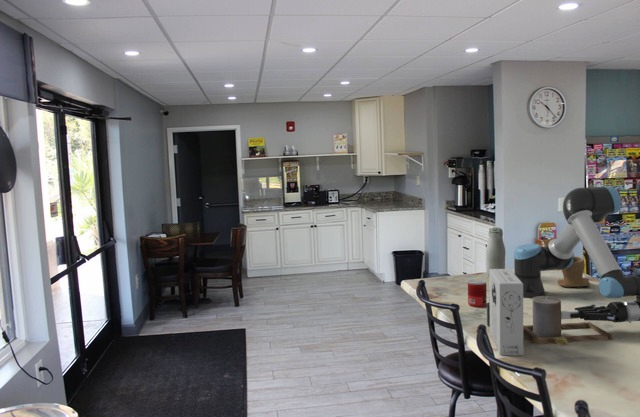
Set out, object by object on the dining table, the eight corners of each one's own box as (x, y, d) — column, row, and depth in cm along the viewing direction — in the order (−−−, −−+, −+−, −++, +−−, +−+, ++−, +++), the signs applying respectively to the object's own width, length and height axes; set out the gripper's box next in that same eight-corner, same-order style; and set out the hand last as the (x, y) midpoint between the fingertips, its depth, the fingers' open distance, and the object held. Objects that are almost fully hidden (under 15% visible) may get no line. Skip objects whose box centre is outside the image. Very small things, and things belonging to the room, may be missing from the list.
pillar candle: (558, 331, 188) (558, 292, 187) (563, 340, 179) (563, 300, 178) (531, 330, 191) (530, 292, 190) (534, 339, 182) (533, 299, 180)
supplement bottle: (484, 323, 200) (483, 294, 199) (500, 322, 201) (500, 293, 200) (491, 329, 194) (491, 299, 192) (508, 328, 194) (508, 298, 193)
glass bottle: (485, 280, 266) (485, 228, 263) (486, 276, 276) (486, 226, 273) (505, 281, 263) (505, 229, 260) (505, 276, 272) (505, 226, 269)
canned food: (487, 307, 220) (487, 283, 219) (468, 307, 222) (468, 283, 221) (485, 302, 228) (485, 279, 227) (467, 302, 230) (467, 279, 228)
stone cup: (563, 289, 243) (563, 259, 242) (555, 283, 255) (555, 254, 253) (596, 289, 241) (596, 259, 240) (586, 283, 253) (586, 254, 251)
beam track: (585, 323, 195) (585, 316, 195) (616, 341, 176) (616, 333, 176) (512, 327, 194) (512, 320, 194) (536, 346, 175) (536, 338, 175)
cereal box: (523, 356, 168) (523, 283, 165) (499, 355, 169) (499, 283, 166) (510, 333, 189) (510, 268, 186) (489, 332, 190) (489, 268, 188)
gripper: (634, 327, 179) (569, 331, 178) (611, 315, 192) (551, 319, 191) (634, 307, 178) (569, 310, 177) (611, 297, 191) (551, 300, 190)
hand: (560, 315), depth 184 cm, fingers closed
